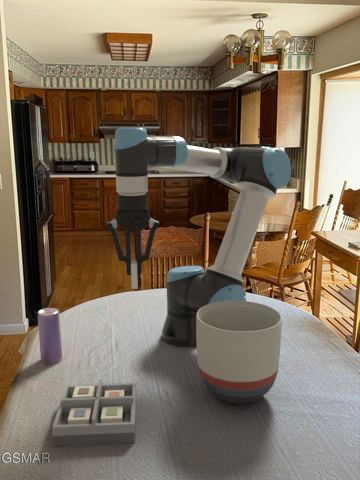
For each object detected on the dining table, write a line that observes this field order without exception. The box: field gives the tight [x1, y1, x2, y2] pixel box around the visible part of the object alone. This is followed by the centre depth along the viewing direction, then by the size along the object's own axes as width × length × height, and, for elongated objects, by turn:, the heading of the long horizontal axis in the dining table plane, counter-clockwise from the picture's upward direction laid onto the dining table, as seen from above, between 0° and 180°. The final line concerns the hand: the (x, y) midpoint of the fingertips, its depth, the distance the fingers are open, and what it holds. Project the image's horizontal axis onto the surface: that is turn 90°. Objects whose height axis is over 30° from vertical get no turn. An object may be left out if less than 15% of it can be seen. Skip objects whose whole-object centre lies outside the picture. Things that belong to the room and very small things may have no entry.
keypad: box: [51, 379, 137, 447], centre depth 109 cm, size 17×18×6 cm
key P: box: [101, 406, 123, 423], centre depth 105 cm, size 4×4×3 cm
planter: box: [196, 300, 283, 405], centre depth 117 cm, size 20×20×21 cm
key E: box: [72, 386, 95, 398], centre depth 111 cm, size 4×4×3 cm
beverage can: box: [37, 307, 63, 365], centre depth 137 cm, size 6×6×15 cm
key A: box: [104, 390, 124, 397], centre depth 112 cm, size 4×4×3 cm
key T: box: [68, 408, 92, 425], centre depth 105 cm, size 4×4×3 cm
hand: (134, 287), depth 120 cm, fingers closed
